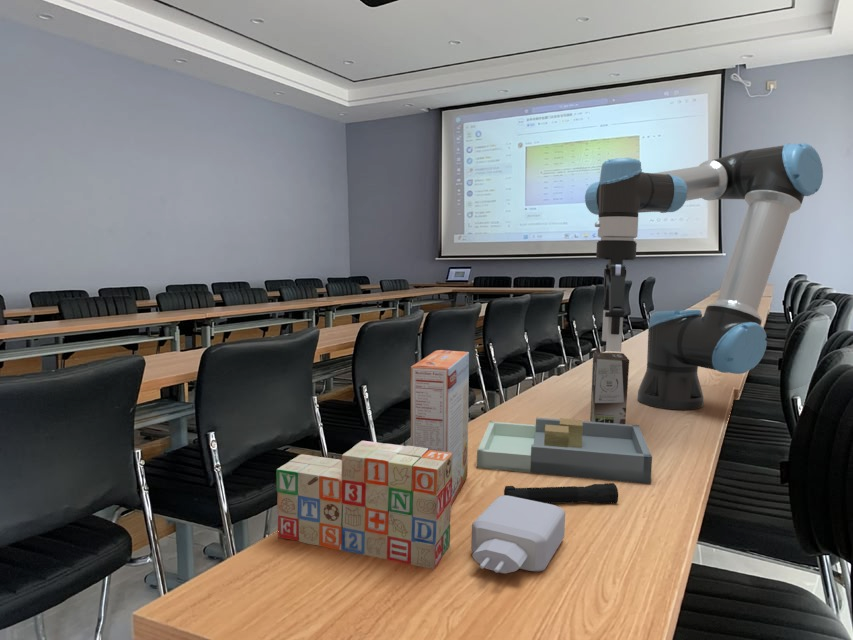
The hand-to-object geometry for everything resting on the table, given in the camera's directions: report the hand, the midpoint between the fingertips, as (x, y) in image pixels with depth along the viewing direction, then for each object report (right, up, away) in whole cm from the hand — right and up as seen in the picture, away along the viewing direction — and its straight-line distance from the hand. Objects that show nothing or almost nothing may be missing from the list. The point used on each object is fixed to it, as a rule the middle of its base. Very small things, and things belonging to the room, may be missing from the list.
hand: (610, 346), depth 123 cm
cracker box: (-35, -21, -30) cm, 51 cm away
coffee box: (0, -18, +2) cm, 18 cm away
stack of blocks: (-45, -23, -46) cm, 68 cm away
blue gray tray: (-9, -20, -14) cm, 26 cm away
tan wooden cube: (-11, -17, -11) cm, 23 cm away
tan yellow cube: (-14, -18, -16) cm, 28 cm away
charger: (-27, -24, -49) cm, 61 cm away
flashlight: (-17, -22, -33) cm, 43 cm away
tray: (-22, -19, -11) cm, 31 cm away
